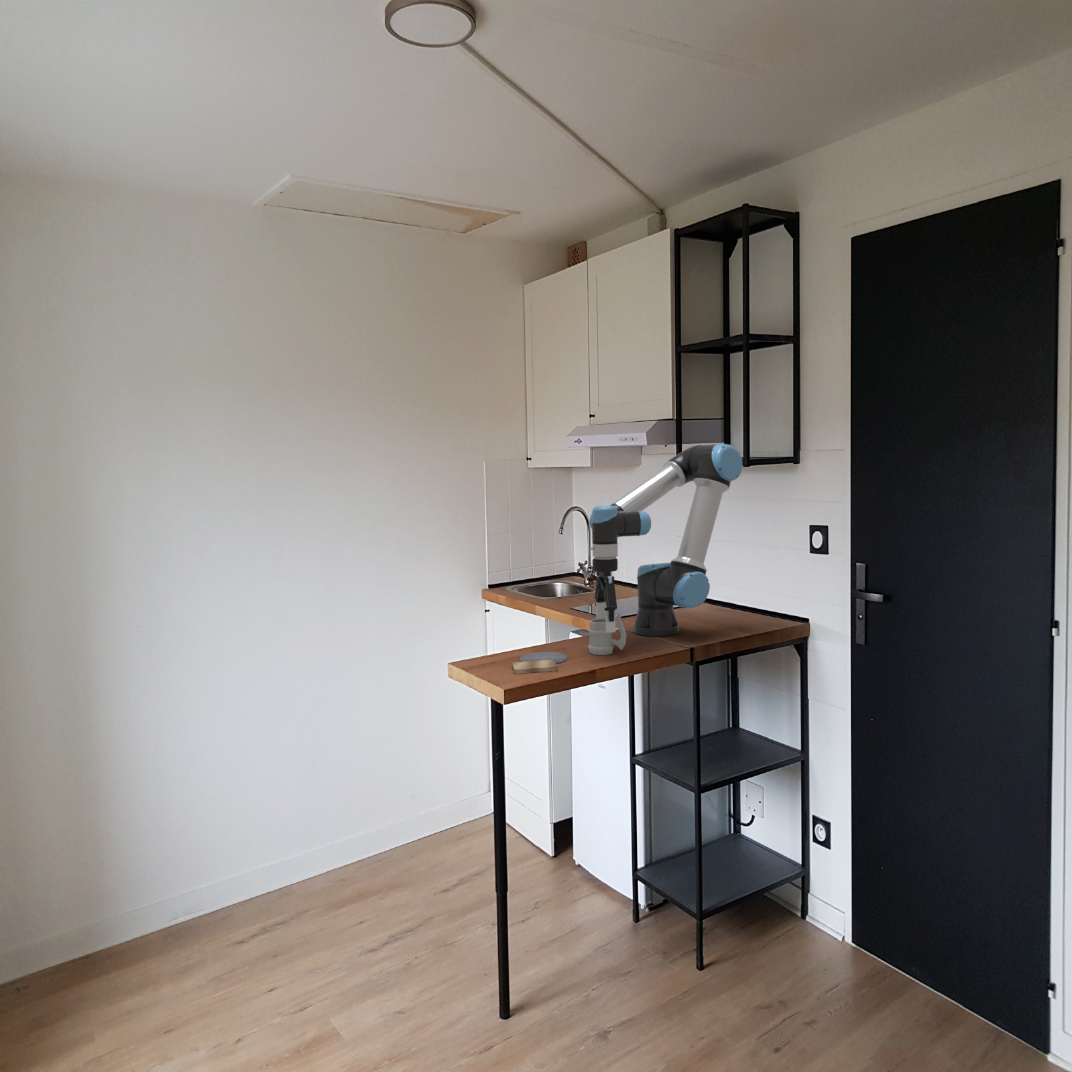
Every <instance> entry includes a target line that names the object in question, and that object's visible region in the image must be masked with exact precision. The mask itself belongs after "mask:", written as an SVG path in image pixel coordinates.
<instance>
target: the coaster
mask: <svg viewBox="0 0 1072 1072" xmlns="http://www.w3.org/2000/svg"><path fill="white" fill-rule="evenodd" d="M542 660H554V662H555V663H556V665H557V664H562V663H565V662H566V661H567V660H568V655H567V654H566V653H562V652H558V651H536V652H529V653H526V654H522V655H521V656H520V657H519V662H527V661H542Z"/></svg>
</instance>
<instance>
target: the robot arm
mask: <svg viewBox="0 0 1072 1072" xmlns="http://www.w3.org/2000/svg"><path fill="white" fill-rule="evenodd" d="M662 466H663V467H662V468H661V469H659V470H658V471H657V472H656V473H654V474H653V475H651V476H649V477H648V478H647V479H646V480H644V481H643V482H641V483H640V484H639V485H637V486H635V487H634V488H632V489H631V490H630V491H628V492H627V493H625V494H624V495H623V496H622V497H620V498H619V499H618V500H616V501H614V502H613V503H612V504H610V505H604V506H603V505H602V506H601V505H600V506H599V505H598V506H594V507H593V508H592V511H591V514H590V516H589V520H588V522H589V525H590V528H591V538H592V540H591V541H592V542H591V543H592V546H591V547H590V550H591V551H592V557H593V558H592V570H593V572H595V573H596V580H595V589H594V599H595V604H596V605H595V606H596V607H595V608H596V609H595V610H596V612H595V613H596V615H595V616H596V618H595V619H606V633H608V632H612V633H616V626H615V619H616V611H617V610H618V605H617V604H618V602H617V594H616V585H615V576H613V575H612V572H616V571H618V569H619V568H618V566H619V564H618V563H619V562H618V558H617V557H618V555H619V551H618V550H619V549H618V548H619V547H618V538H621V537H623V538H624V537H640V536H645V535H647V534H648V533H650V532H651V531H650V530H651V527H652V518H651V517H650V514H649V513H647V511H644V510H646V509H647V508H648V507H649V506H651V505H653V504H654V503H655V502H657V501H658V500H660V499H661V498H662V497H664V496H665V495H666V494H667V493H669V492H670V491H672V490H673V489H675V488H676V487H679V488H680V487H683V486H684V485H686V484H688V483H689V482H690V483H691V482H693V483H694V484H695V486H696V488H695V491H694V495H693V498H692V502H691V506H690V510H689V514H688V516H687V519H686V520H687V521H686V524H685V528H684V532H683V536H682V538H681V542H680V546H679V549H678V553H677V556H676V557H675V558H673V559H672V560H671V561H670V562H661V563H650V564H642V565H640V566H639V567H638V568H637V574H636V575H637V576H636V579H637V601H638V602H637V603H638V604H637V605H638V606H637V607H638V608H637V613H636V616H635V619H634V622H633V633H634V634H636V635H639V636H646V637H665V636H666V637H667V636H673V635H676V634H679V633H680V624H679V622H678V618H677V616H676V613H675V610H674V606H677V607H679V608H682V609H685V608H688V609H693V608H696V607H699V606H700V605H702V604H703V603H704V602H705V601H706V599H707V598H708V596H709V593H710V590H711V585H710V580H709V578H708V577H707V571H708V569H707V568H706V566H705V560H706V557H707V552H708V550H709V544H710V542H711V538H712V534H713V531H714V527H715V523H716V520H717V515H718V511H719V508H720V504H721V501H722V497H723V494H724V493H726V492H728V491H729V490H730V487H731V482H733V481H734V480H737V478H739V477H740V476H741V474H742V471H743V458H742V456H741V455H740V452H739V451H738V449H737V448H736V447H735V446H733V445H731V444H726V443H725V444H724V443H723V444H722V443H717V444H704V445H703V444H699V445H693V446H691V447H688V448H686V449H684V450H683V451H681V452H679V453H677V454H676V455H675V456H673V457H671V458H670V459H668V460H667V461H666V462H665V463H664V464H663V465H662Z"/></svg>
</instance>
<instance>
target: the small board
mask: <svg viewBox="0 0 1072 1072" xmlns="http://www.w3.org/2000/svg"><path fill="white" fill-rule="evenodd" d="M511 668H512V670H513V673H514V675H515V674H516V675H517V674H519V675H520V674H530V673H531V674H532V673H544V672H545V673H546V672H548V673H549V672H558V671H559V670H558V669H559V668H558V665H557V664H556V663H555V662H554V660H542V661H527V662H521V661H514V662H511Z"/></svg>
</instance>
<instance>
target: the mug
mask: <svg viewBox="0 0 1072 1072" xmlns="http://www.w3.org/2000/svg"><path fill="white" fill-rule="evenodd" d="M615 627H616V629H618V631H619V634H620V635H619V636H620V637H619V639H615V638H613V637H612V636H613V635H612V634H613V632H608V633H606V618H605V619H596V618H593V619H592V618H591V620H589V629H588V634H589V644H588V645H587V646H588V648H587V649H588V650H589V651H588V652H589V653H590V654H591V655H594V656H595V655H596V656H608V655H611V654H613V650H614V648H615V647H614V646H616V647H618V649H620V651H621V650H623V649H624V648H625V646H626V642H627V632H626V629H625V625H624V624H623V621H622V614H621V613H618V614H617V615H616V616H615Z"/></svg>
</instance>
